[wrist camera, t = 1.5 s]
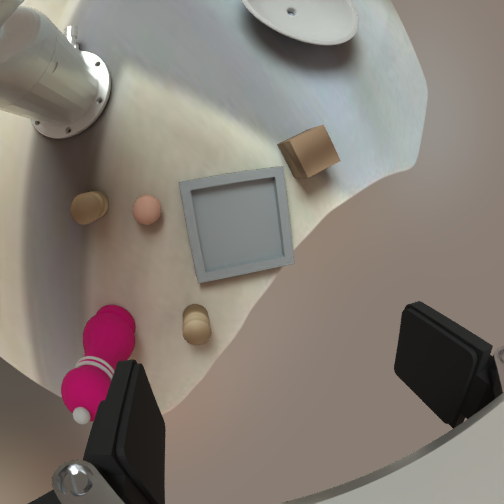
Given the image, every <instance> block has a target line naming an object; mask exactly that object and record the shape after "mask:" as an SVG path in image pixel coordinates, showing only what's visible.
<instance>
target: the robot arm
mask: <svg viewBox="0 0 504 504" xmlns="http://www.w3.org/2000/svg"><path fill="white" fill-rule="evenodd" d="M23 1H24V0H0V110H2V111H6V112H9V113H13V114H16V115H20V116H23V117H26V118H29V119H31V122H32V124H33V125H34V127H35V128H36V129H37V130H38V131H39V132H40V133H41V134H43V135H45V136H47V137H50V138H56V139H64V138H69V137H73V136H75V135H77V134H79V133H81V132H83V131H84V130H85V129H87V128H88V127H89V126H90V125H92V124H93V123H94V122H95V121H96V119H97V118H98V117H99V116H100V114H101V113H102V111H103V109H104V108H105V106H106V103H107V101H108V98H109V95H110V90H111V77H110V72H109V70H108V68H107V66H106V64H105V63H104V61H103V60H102V59H101V58H100V57H98V56H97V55H95V54H94V53H91V52H87V51H80V50H79V45H78V44H77V43H76V39H77V27H76V26H69V27H67V28H65V30H64V35H63V34H62V33H61V32H60V30H59V29H58V28H57V27H56V26H55V25H54V24H53V23H52V21H51V20H50V19H49V18H48V17H47V16H46V15H45V14H44V13H42V12H41V11H39V10H36V9H34V8H29V7H18V6H19V5H20V4H21V3H22V2H23ZM98 65H100V66H99V67H98ZM102 100H103V102H102V103H101V104H100V101H102ZM39 122H40V123H39ZM70 130H71V132H69V131H70ZM491 350H492V345H491V344H489V343H487V342H486V341H484V340H483V339H481V338H480V337H478V336H476V335H475V334H473V333H472V332H470V331H468V330H467V329H465V328H464V327H462V326H460V325H459V324H457V323H456V322H454V321H452V320H451V319H449V318H447V317H446V316H444V315H442V314H441V313H439V312H437V311H436V310H434V309H432V308H431V307H429V306H427V305H426V304H424V303H422V302H420V301H418V302H415V303H412V304H408V305H407V306H406V307H405V309H404V310H403V312H402V318H401V326H400V333H399V340H398V346H397V353H396V359H395V364H394V370H395V373H396V375H397V376H398V377H399V378H400V379H401V380H402V381H403V382H404V383H405V384H406V385H407V386H408V387H410V389H411V390H412V391H413V392H414V393H415V394H416V395H417V396H418V397H419V398H420V399H421V400H422V401H423V402H424V403H425V404H426V405H427V406H428V407H429V408H430V409H431V410H432V411H433V412H434V413H435V414H436V415H437V416H438V417H439V418H440V419H441V420H442V421H443V422H444V423H446V424H449V425H450V426H451V427H452V428H453V429H452V430H451V431H449V432H448V433H446V434H444V435H443V436H441V437H440V438H438V439H436V440H435V441H433V442H431V443H429V444H428V445H426V446H424V447H422V448H421V449H419V450H417V451H415V452H413V453H411V454H410V455H408V456H406V457H404V458H402V459H400V460H398V461H396V462H394V463H392V464H389V465H387V466H385V467H383V468H381V469H379V470H376V471H374V472H372V473H369V474H367V475H365V476H362V477H360V478H357V479H355V480H352V481H349V482H347V483H344V484H342V485H339V486H336V487H333V488H330V489H327V490H324V491H321V492H318V493H315V494H311V495H308V496H305V497H301V498H297V499H294V500H290V501H286V502H282V503H278V504H504V346H502V347H499V348H498V349H497V350H496V351H495V352H494V355H493V356H491V355H490V353H491ZM465 417H466V418H467V420H466V421H465V422H463V421H464V419H465ZM164 464H165V423H164V420H163V417H162V415H161V412H160V410H159V407H158V405H157V402H156V400H155V397H154V395H153V392H152V389H151V387H150V384H149V381H148V378H147V376H146V373H145V370H144V367H143V365H142V364H137V362H136V360H125V361H118V363H117V365H116V368H115V371H114V374H113V377H112V380H111V383H110V386H109V390H108V393H107V396H106V399H105V400H102V401H101V402H100V404H99V406H98V409H97V412H96V415H95V419H94V422H93V425H92V429H91V432H90V436H89V439H88V443H87V447H86V450H85V454H84V458H83V460H71V461H68V462H65V463H63V464H62V465H60V466H59V467H58V468H57V469H56V470H55V472H54V474H53V476H52V486H53V489H54V490H52V491H50V492H48V493H47V494H45V495H43V496H41V497H39V498H38V499H36V500H34V501H32V502H30V503H28V504H165V491H164V469H165V468H164V466H165V465H164Z"/></svg>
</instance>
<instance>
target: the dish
mask: <svg viewBox="0 0 504 504" xmlns="http://www.w3.org/2000/svg"><path fill="white" fill-rule="evenodd" d="M241 1H242V3H243V4H244V6H245V7H246V8H247V10H248V11H249V12H250V13H251V14H252V15H253V16H255V17H256V18H257V19H258V20H259V21H261V22H262V23H264V24H265V25H266V26H268V27H270V28H271V29H273V30H275V31H277V32H279V33H281V34H283V35H285V36H288V37H290V38H293V39H295V40H298V41H302V42H306V43H310V44H315V45H338V44H342V43H345V42H347V41H349V40H350V39H351V38H352V37H353V36H354V35H355V34H356V32H357V29H358V15H357V12H356V10H355V8H354V6H353V4H352V2H351V1H350V0H241ZM287 12H292V13H293V14H294V16H291V15H289V14H288V13H287Z"/></svg>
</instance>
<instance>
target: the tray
mask: <svg viewBox="0 0 504 504" xmlns="http://www.w3.org/2000/svg"><path fill="white" fill-rule="evenodd" d="M179 185H180V191H181V197H182V202H183V208H184V214H185V219H186V225H187V230H188V235H189V240H190V245H191V250H192V255H193V260H194V265H195V270H196V275H197V279H198V283H203V282H208V281H213V280H218V279H223V278H228V277H233V276H238V275H242V274H247V273H252V272H257V271H262V270H267V269H271V268H276V267H281V266H286V265H290V264H294V256H293V246H292V237H291V228H290V219H289V210H288V202H287V193H286V185H285V178H284V170H283V166H279V167H271V168H263V169H256V170H248V171H242V172H235V173H228V174H222V175H216V176H210V177H204V178H199V179H193V180H188V181H182V182H179Z"/></svg>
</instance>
